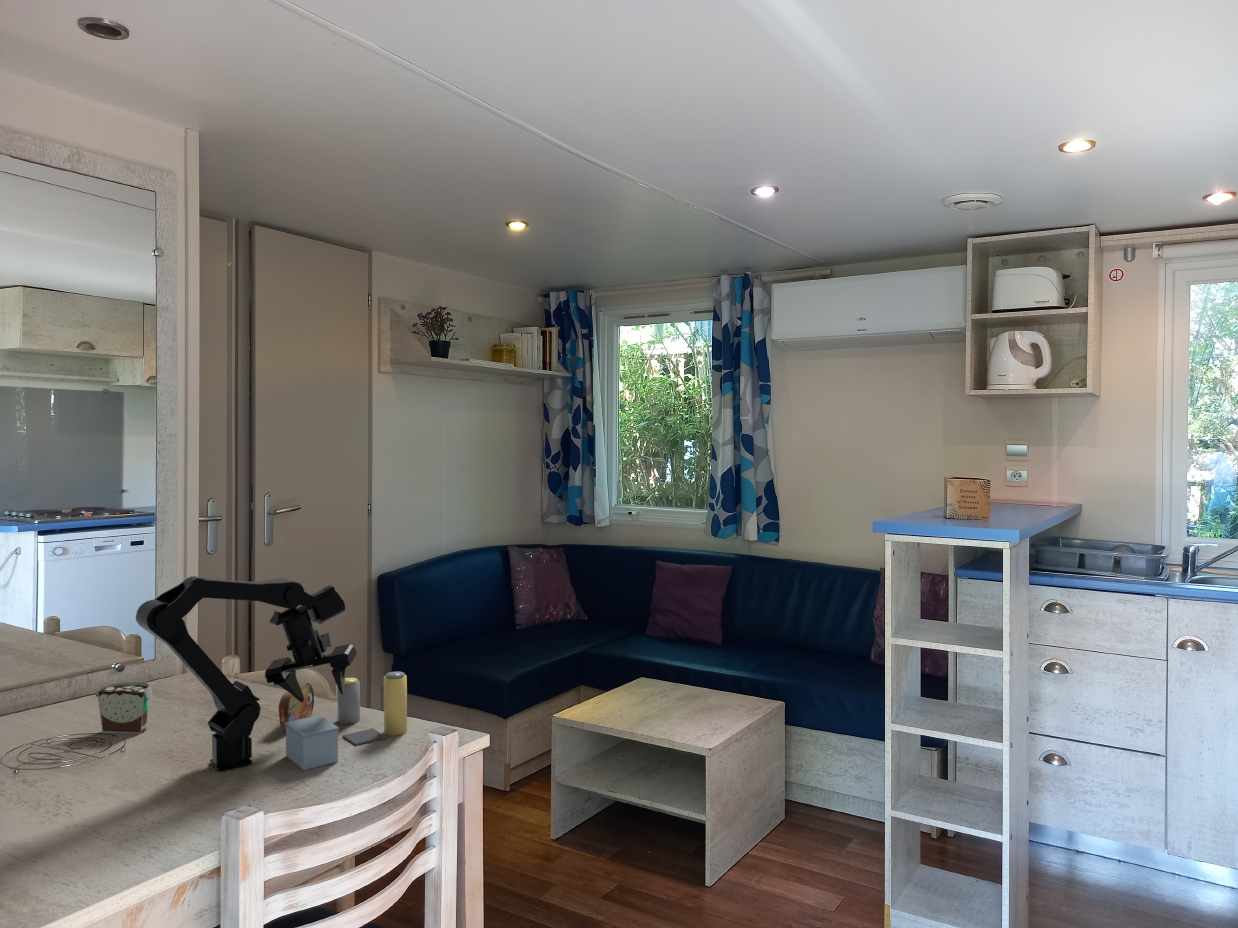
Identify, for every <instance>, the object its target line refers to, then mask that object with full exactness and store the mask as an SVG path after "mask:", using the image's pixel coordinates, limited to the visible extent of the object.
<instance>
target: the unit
mask: <svg viewBox="0 0 1238 928" xmlns="http://www.w3.org/2000/svg"><path fill="white" fill-rule="evenodd" d="M284 725H285V726H286V730H285V756H286V757H287V759H289V760H291V761H292V762H293V763H294V764H295V765H297V767H299V768H301V769H302V771H307V770H310V769H314V768H317V767H322V766H326V765H330V764H333V763H338V762H339V745H338V744H339V741H338V740H339V739H338V738H339V735H338V734H339V733H338V731H340V727H339V726H337V725H336V724H334V723H332V721H330V720H328V719H326V718H324V716H322V715H320V714H319V715H313V716H310V717H308V718H304V719H299V720H294V721H289V722H285V723H284Z"/></svg>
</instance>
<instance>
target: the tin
mask: <svg viewBox="0 0 1238 928" xmlns="http://www.w3.org/2000/svg"><path fill="white" fill-rule="evenodd" d="M299 686H300V688H301V691H302V693H303V696H304V701H303V702H302V703H301V702H300V701H299V700H297V699H296V698H295V697H294V696H293V695H291V694H290V693H289V692H288V691H286V692H285V693H283V695H281V698H280V700H279V703H278V718H279V725H280V728H281V729H283V730H285V731H286V726H285V725H284V723H285V722H289V721H294V720H299V719H304V718H308V717H312V714H313V710H314V705H315V696H314V695H315V694H314V688H313V686H312V685H311V683H309V682H305V683H299Z"/></svg>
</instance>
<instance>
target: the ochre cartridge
mask: <svg viewBox="0 0 1238 928" xmlns="http://www.w3.org/2000/svg"><path fill="white" fill-rule="evenodd" d="M407 680H408V679H407V675H406V674H405V672H402V671H391V672H387V673H386V674H385V676H384V677H383V735H385V736H400V735H404V734H406V733H407V732H408V698H407V697H408V695H407V694H408V685H407V683H408V681H407Z"/></svg>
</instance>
